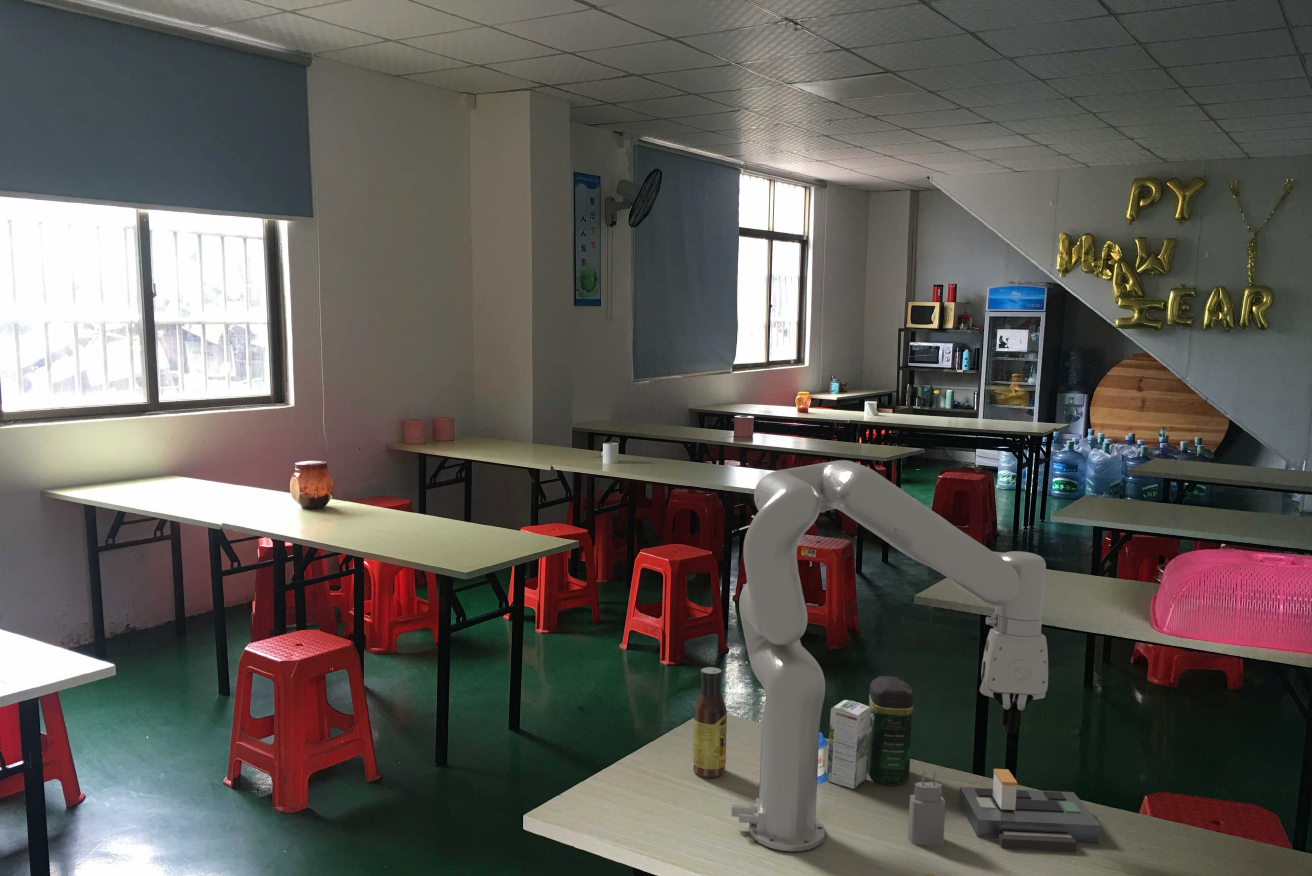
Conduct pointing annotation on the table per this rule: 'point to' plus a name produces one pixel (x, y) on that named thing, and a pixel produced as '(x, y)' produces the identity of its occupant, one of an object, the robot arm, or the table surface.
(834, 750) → the syrup box
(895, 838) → the table surface
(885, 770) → the coffee jar
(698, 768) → the sauce bottle
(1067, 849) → the dark grey bar
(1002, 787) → the lever
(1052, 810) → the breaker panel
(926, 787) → the power adapter
